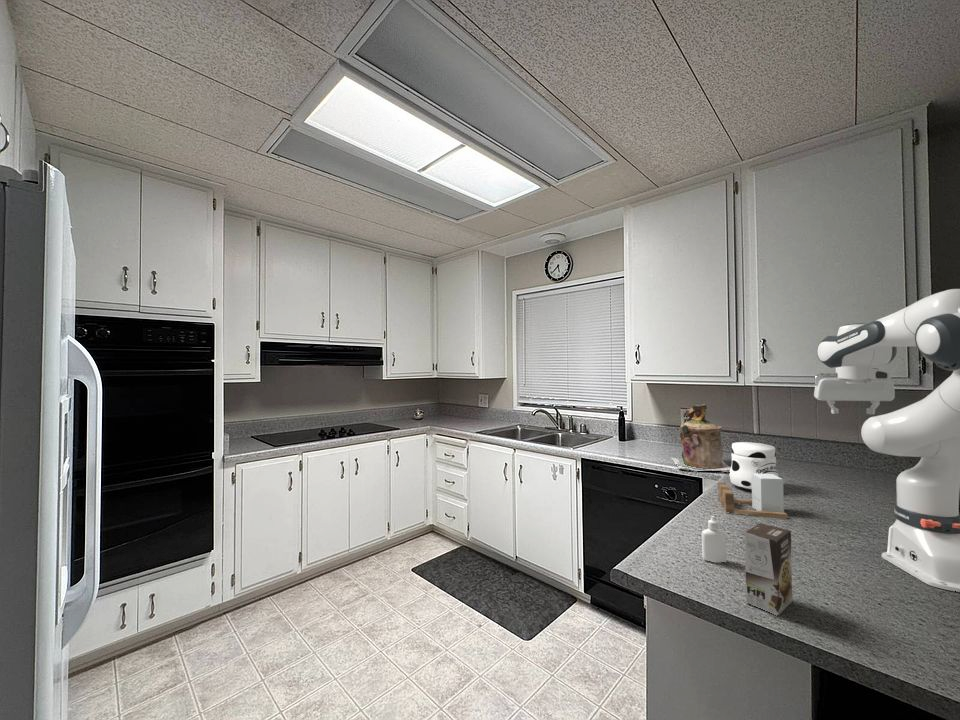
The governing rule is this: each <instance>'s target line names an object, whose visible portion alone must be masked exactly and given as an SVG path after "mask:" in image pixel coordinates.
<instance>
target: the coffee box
mask: <svg viewBox="0 0 960 720" xmlns="http://www.w3.org/2000/svg"><path fill="white" fill-rule="evenodd" d="M744 547H745V548H744V550H745V551H744V553H745V554H744V555H745V558H744V560H745V561H744V564H745V565H744V566H745V567H744V568H745V569H744V570H745V603H746V602H747V603H750V604H752V605H754V606H756V607H758V608H757V609H759V608H761V609H763V610H765V611H764V612H766V611H768V612H770V613H772V614H771V615H773V614H774V615H773V616H775V615H776V616H775V617H778V616H779V615H780V614H782V612H783V611H785V609H787V607H789V605H791V604H792V602H793V570H792V569H793V566H792V565H793V564H792V561H793V560H792V531H791V530H789V529H786V528H782V527H779V526H774V525H769V524H765V523H761V522H759V523H758V524H756V525H755V526H753V527H752V528H749V529H747V530H746V531H745V532H744ZM747 603H746V604H747ZM752 605H751V606H752ZM754 606H753V607H754ZM756 607H755V608H756ZM761 609H760V610H761ZM763 610H762V611H763ZM768 612H767V613H768ZM770 613H769V614H770ZM777 615H778V616H777Z"/></svg>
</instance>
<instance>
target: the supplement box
mask: <svg viewBox="0 0 960 720" xmlns="http://www.w3.org/2000/svg"><path fill="white" fill-rule="evenodd" d="M778 476H779V475H778ZM778 476H776V475H774V474H758V473H752V491H751V497H752V498H751V500H752V505H751V506H752V508H753V510H755V509H756V510H757V511H768V512H779V513H785V505H784V503H785V499H784V478H781V477H778Z"/></svg>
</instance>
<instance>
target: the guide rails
mask: <svg viewBox="0 0 960 720" xmlns="http://www.w3.org/2000/svg"><path fill="white" fill-rule="evenodd" d="M734 503H740V504H739V505H742V504H749V505H748V506H752V499H743V498H734ZM728 510H729V511H728ZM728 510H727V512H731V513H738V514H737V515H739V514H748V515H747V516H750V515H754V516H753V517H760V516H764V518H772V519H780V520H781V519H783V520H788V518H789V517H788V516H789V515H788V514H787V512H784V513H779V512H768V511H757V510H755V509H744V508H735V507H734V510H730V509H728Z"/></svg>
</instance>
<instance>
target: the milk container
mask: <svg viewBox="0 0 960 720" xmlns="http://www.w3.org/2000/svg"><path fill="white" fill-rule="evenodd" d="M776 451H777V450H776V447H775V446H773V445H771V444H766V443H761V442H751V441H740V442H733V443H731V466H730V467H731V469H730V473H729V479H730V480H729V481H730V483H731V485H733V486H735V487H736V488H739V489H742V490H745V491H750V492H752V473H758V474H774V475H776V476H778V477H779V473H778V470H777V453H776Z"/></svg>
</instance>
